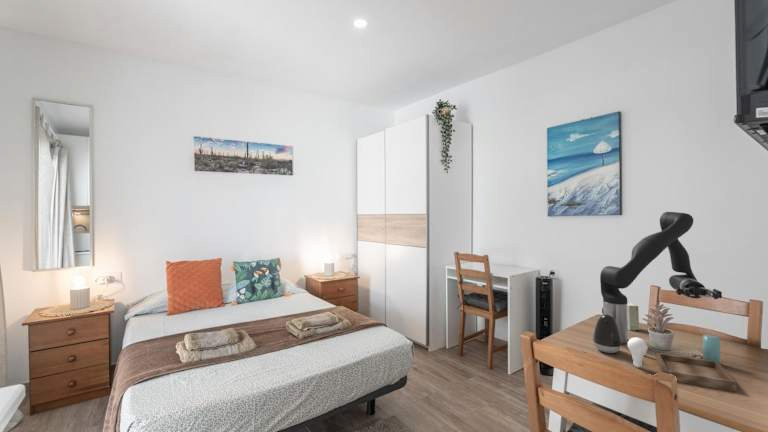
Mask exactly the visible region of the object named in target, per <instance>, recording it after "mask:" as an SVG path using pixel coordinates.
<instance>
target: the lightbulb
mask: <svg viewBox="0 0 768 432" xmlns="http://www.w3.org/2000/svg"><path fill="white" fill-rule="evenodd" d="M627 348H628V350H629V351H630V353H631V357H632V358H631V359H632V360H633V362H632V364H633V366H635V367H636V368H638V369H639V368H642V366H643V361H644V356H645V354H646V353H647V352H648V349H649V347H648V343H646V341H645V340H644V339H642V338H640V337H631V338H630V339H629V340H628V342H627Z"/></svg>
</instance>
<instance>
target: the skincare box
mask: <svg viewBox="0 0 768 432" xmlns="http://www.w3.org/2000/svg"><path fill="white" fill-rule="evenodd" d="M627 312H628V331H636V330H639V331H640V322H639V321H640V318H639V316H640V315H639V305H636V304H634V303H633V302H627Z"/></svg>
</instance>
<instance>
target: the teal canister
mask: <svg viewBox="0 0 768 432" xmlns="http://www.w3.org/2000/svg"><path fill="white" fill-rule="evenodd" d="M702 360H709V361H716V362H718V363H719V364H720V365H721V338H720V337H719V336H716V335H712V334H703V335H702Z"/></svg>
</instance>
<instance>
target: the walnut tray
mask: <svg viewBox="0 0 768 432" xmlns="http://www.w3.org/2000/svg"><path fill="white" fill-rule="evenodd" d="M655 361H656V363H657V366H658V367H659V369H660V372H661V373H662V372H664V373H667V374H672V375H674V376H676V378H677V381H676V382H679V383H683V384H685V383H686V384H690V385H696V386H702V387H708V388H713V389H718V390H722V391H723V390H724V391H725V390H726V391H729V392H730V391H731V392H736V393H737V382H736V380H734V379H733V377H732V376H731V375H730V373H728V372H727V371H726V370H725V368H724V367H723V366H722V365H721V363H720V364H719V363H718V362H716V361H709V360H703V358H696V357H695V358H693V357H688V356H681V355H675V354H668V353H660V352H655Z"/></svg>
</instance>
